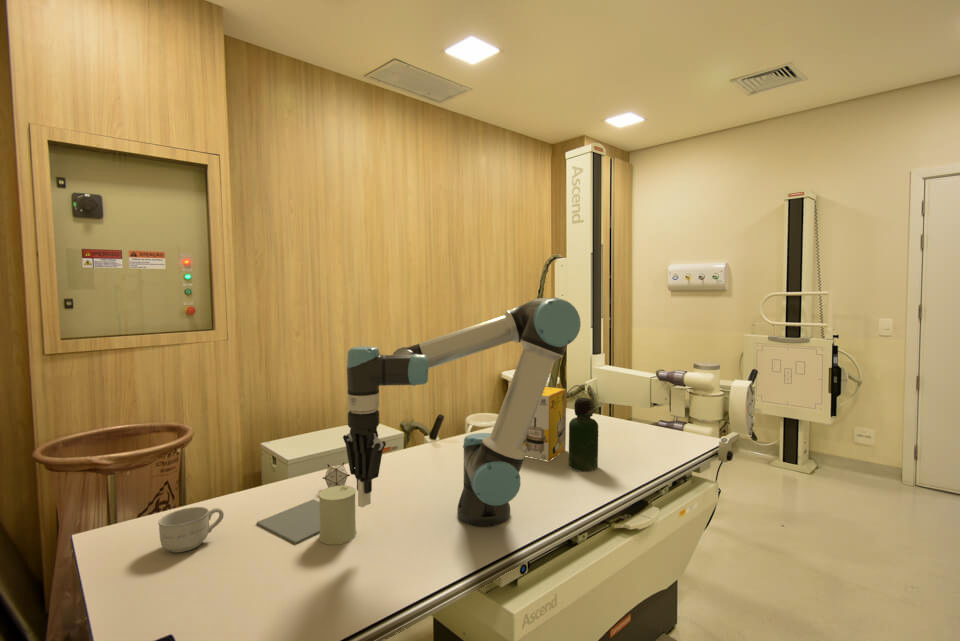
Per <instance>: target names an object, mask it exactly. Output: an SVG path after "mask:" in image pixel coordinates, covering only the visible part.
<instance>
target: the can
mask: <svg viewBox="0 0 960 641" xmlns="http://www.w3.org/2000/svg"><path fill="white" fill-rule="evenodd" d="M356 490H357V489H355V488H354V487H352V486H350V485H344V486H333V487H329V488H328V487H326V488H324V489H323V490H321V491H320V492H319V494H318V501H319V503H320V533H319V541H320V542H321V543H323V544H325V545H330V546H331V545H332V546H334V545H335V546H336V545H342V544H345V543H348V542H349V541H352V540H353V539H355V537H356V535H357V531H356V530H357V529H356V528H357V527H356Z"/></svg>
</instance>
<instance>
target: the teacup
mask: <svg viewBox="0 0 960 641" xmlns="http://www.w3.org/2000/svg"><path fill="white" fill-rule="evenodd" d="M215 513H218V514H219V516H218V518H217V519H216V520H215V521H214V522H213V523H211V524H210V521H211V517H212V515H214V514H215ZM224 516H225V515H224V511H223V510H222V509H221V508H219V507H214V508H212V509H210V510H209V508H207V507H203V506H193V507H188V508H187V507H186V508H182V509H179V510H175V511H172V512H170V513H168V514H165V515H164V516H162V517H161V518H160V519H159V520H158V522H157V523H158V529H159V539H160V540H159V542H160V544H161V546H162V548H163V549H165V550H167V551H169V552H172V553H183V552H184V553H185V552H187V551H190V550H193V549H196V548H197V547H199V546H200V545H202V543H203V542H204V541H205V539H206V538H207V537H208V535H209V534H210V533H212V531H213V529H215V527H217V526H219V524H220V523H221V522H222V520H223V519H224Z"/></svg>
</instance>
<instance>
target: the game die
mask: <svg viewBox="0 0 960 641" xmlns="http://www.w3.org/2000/svg"><path fill="white" fill-rule="evenodd" d="M350 476H351V474H349V473H348V472H347V470H346V469H345V462H343V463H342V464H334V465H330V464H328V463H327V470H326V472H325V475H324V477H322V479H323V480H325V482H326V486H327V488H329V487H333V486H346V485H345V484H346V481H347V478H348V477H350Z"/></svg>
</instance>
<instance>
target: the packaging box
mask: <svg viewBox="0 0 960 641" xmlns="http://www.w3.org/2000/svg"><path fill="white" fill-rule="evenodd" d="M566 426H567V389H565V388H560V387H550V386H549V387H548V386H545V388H544V391H543V394H542V396H541V399H540V402H539V404H538V407H537V409H536V412H535V415H534V417H533V420H532V423H531V425H530V428H529V430H528V433H527V436H526V438H525V441H524V444H523V446H522V451H523V453H524V456H528V457H533V458H537V459H542V460H547V461H550V460H551V459H552V458H554V457H555V456H557V455H558V454H559V453H561V452H562V451H564V450H565V451H566V441H567V440H566V436H567V435H566V434H567V432H566V431H567V428H566ZM565 451H564V452H565ZM562 453H563V452H562ZM562 453H561V454H562ZM558 456H559V455H558ZM558 456H557V457H558ZM555 458H556V457H555ZM555 458H554V459H555ZM552 460H553V459H552ZM552 460H551V461H552ZM551 461H550V462H551Z"/></svg>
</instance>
